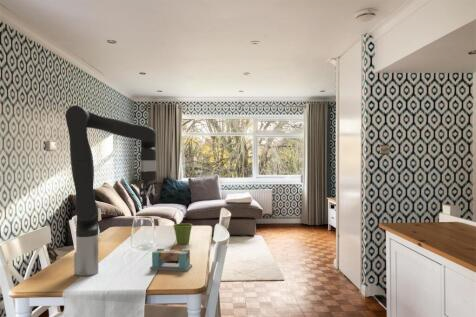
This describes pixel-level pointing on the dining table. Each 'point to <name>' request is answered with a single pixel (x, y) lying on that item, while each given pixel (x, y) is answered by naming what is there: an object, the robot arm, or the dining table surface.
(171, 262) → the sunglasses case
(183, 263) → the bracket stand
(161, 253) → the rail
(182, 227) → the plant pot
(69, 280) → the dining table surface
